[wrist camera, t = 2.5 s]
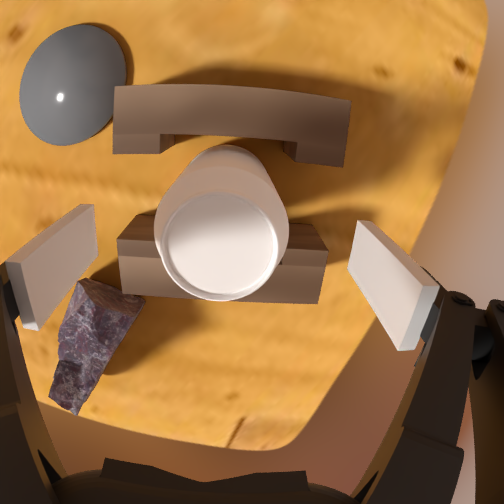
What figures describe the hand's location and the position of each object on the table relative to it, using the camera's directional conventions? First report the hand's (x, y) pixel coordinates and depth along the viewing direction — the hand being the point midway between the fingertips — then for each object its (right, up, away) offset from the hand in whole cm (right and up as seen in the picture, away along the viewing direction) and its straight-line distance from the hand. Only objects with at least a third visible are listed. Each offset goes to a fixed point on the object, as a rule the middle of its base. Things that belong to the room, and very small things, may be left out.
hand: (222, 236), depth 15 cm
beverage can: (-1, +4, +9) cm, 10 cm away
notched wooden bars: (-1, +4, +9) cm, 10 cm away
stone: (-14, -8, +14) cm, 21 cm away
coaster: (-13, +12, +4) cm, 18 cm away
